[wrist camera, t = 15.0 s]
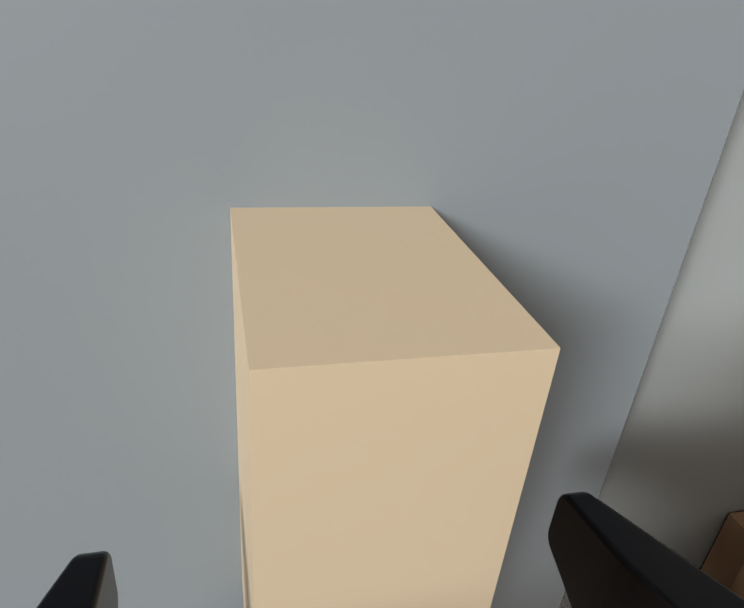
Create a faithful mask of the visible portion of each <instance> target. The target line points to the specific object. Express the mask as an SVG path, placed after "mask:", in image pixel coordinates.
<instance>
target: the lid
mask: <svg viewBox="0 0 744 608" xmlns="http://www.w3.org/2000/svg"><path fill="white" fill-rule="evenodd" d="M743 91H744V0H0V608H37V606H38V605H39V603H40V602H41V601H42V599H43V598H44V596H45V595H46V594H47V592H48V591H49V590H50V588H51V587H52V585H53V584H54V583H55V581H56V580H57V579H58V577H59V576H60V574H61V573H62V572H63V570H64V569H65V568H66V566H67V565H68V563H69V562H70V561H71V559H72V558H73V557H75V556H76V555H79V554H83V553H91V552H99V551H107V552H109V554H110V555H111V558H112V563H113V569H114V574H115V580H116V585H117V591H118V608H560V605H561V602H562V599H563V596H564V594H565V591H566V590H565V587H564V584H563V582H562V579H561V576H560V574H559V571H558V568H557V565H556V563H555V560H554V557H553V555H552V552H551V549H550V546H549V541H548V530H549V526H550V523H551V520H552V517H553V513H554V510H555V507H556V504H557V501H558V499H559V497H560V496H561V495H563V494H567V493H575V492H587V493H589V494H591V495H593V496H594V497H596V498H597V499H598V498H599V495H600V493H601V490H602V487H603V484H604V481H605V479H606V476H607V473H608V470H609V467H610V465H611V462H612V459H613V456H614V453H615V450H616V448H617V445H618V442H619V439H620V436H621V434H622V431H623V428H624V425H625V422H626V420H627V417H628V414H629V411H630V408H631V406H632V403H633V400H634V397H635V394H636V392H637V389H638V386H639V383H640V380H641V378H642V375H643V372H644V369H645V366H646V363H647V361H648V358H649V355H650V352H651V349H652V347H653V344H654V341H655V338H656V335H657V333H658V330H659V327H660V324H661V321H662V319H663V316H664V313H665V310H666V307H667V305H668V302H669V299H670V296H671V293H672V291H673V288H674V285H675V282H676V279H677V276H678V274H679V271H680V268H681V265H682V262H683V260H684V257H685V254H686V251H687V248H688V246H689V243H690V240H691V237H692V234H693V232H694V229H695V226H696V223H697V220H698V218H699V215H700V212H701V209H702V206H703V204H704V201H705V198H706V195H707V192H708V189H709V187H710V184H711V181H712V178H713V175H714V173H715V170H716V167H717V164H718V161H719V159H720V156H721V153H722V150H723V147H724V145H725V142H726V139H727V136H728V133H729V131H730V128H731V125H732V122H733V119H734V117H735V114H736V111H737V108H738V105H739V102H740V100H741V97H742V94H743Z"/></svg>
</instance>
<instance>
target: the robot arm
mask: <svg viewBox="0 0 744 608" xmlns="http://www.w3.org/2000/svg"><path fill="white" fill-rule="evenodd" d="M548 541H549V546H550V549H551V552H552V555H553V557H554V560H555V563H556V565H557V568H558V571H559V574H560V576H561V579H562V582H563V584H564V587H565V590H566V593H567V595H568V598H569V601H570V604H571V606H572V608H744V599H742V598H741V597H739V596H738V595H737V594H735V593H734V592H732V591H731V590H729V589H728V588H726V587H725V586H723V585H722V584H721V583H719V582H718V581H716V580H715V579H713V578H712V577H710V576H709V575H707V574H706V573H705V572H703V571H702V570H700V569H699V568H697V567H696V566H694V565H693V564H692V563H690V562H689V561H687V560H686V559H684V558H683V557H681V556H680V555H678V554H677V553H676V552H674V551H673V550H671V549H670V548H668V547H667V546H665V545H664V544H662V543H661V542H660V541H658V540H657V539H655V538H654V537H652V536H651V535H649V534H648V533H647V532H645V531H644V530H642V529H641V528H639V527H638V526H636V525H635V524H633V523H632V522H631V521H629V520H628V519H626V518H625V517H623V516H622V515H620V514H619V513H617V512H616V511H615V510H613V509H612V508H610V507H609V506H607V505H606V504H604V503H603V502H602V501H600V500H599V499H597V498H596V497H594V496H593V495H591V494H589V493H587V492H575V493H567V494H563V495H561V496H560V497H559V499H558V501H557V504H556V507H555V510H554V513H553V517H552V520H551V523H550V526H549V530H548ZM37 608H118V591H117V585H116V580H115V574H114V569H113V563H112V558H111V555H110V554H109V552H107V551H99V552H91V553H83V554H79V555H76V556H75V557H73V558H72V559H71V561H70V562H69V563H68V565H67V566H66V568H65V569H64V570H63V572H62V573H61V574H60V576H59V577H58V579H57V580H56V581H55V583H54V584H53V585H52V587H51V588H50V590H49V591H48V592H47V594H46V595H45V596H44V598H43V599H42V601H41V602H40V603H39V605H38V606H37Z"/></svg>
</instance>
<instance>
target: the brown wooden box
mask: <svg viewBox="0 0 744 608" xmlns="http://www.w3.org/2000/svg"><path fill="white" fill-rule="evenodd" d="M701 570H702V571H703V572H705V573H706V574H707V575H709V576H710V577H712V578H713V579H715V580H716V581H718V582H719V583H721V584H722V585H723V586H725V587H726V588H728V589H729V590H731V591H732V592H734V593H735V594H737V595H738V596H739V597H741V598H742V599H744V511H742V512H735V513H729V515H728V517H727V519H726V521H725V523H724V525H723V527H722V529H721V531H720V533H719V535H718V537H717V539H716V540H715V542H714V544H713V546H712V548H711V550H710V552H709V554H708V556H707V558H706V560H705V562H704V564H703V566H702V568H701Z"/></svg>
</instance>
